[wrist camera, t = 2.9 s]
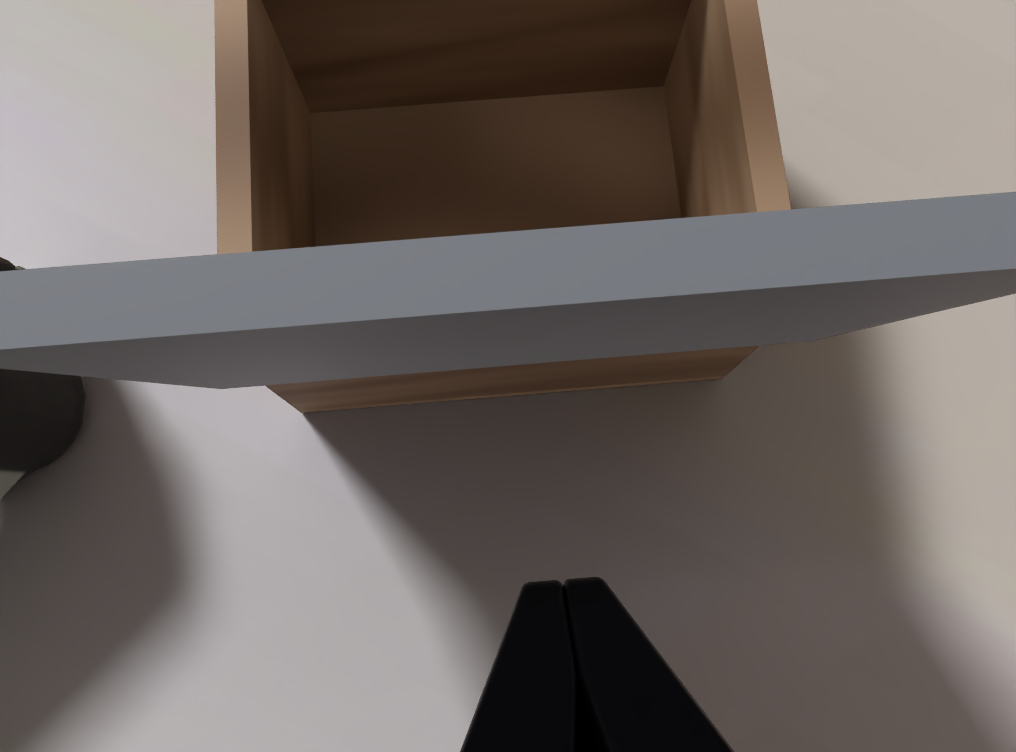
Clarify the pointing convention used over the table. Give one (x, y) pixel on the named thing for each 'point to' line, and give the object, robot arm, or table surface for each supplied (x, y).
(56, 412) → the tape dispenser
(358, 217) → the box
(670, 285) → the lid
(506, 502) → the table surface
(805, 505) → the table surface
